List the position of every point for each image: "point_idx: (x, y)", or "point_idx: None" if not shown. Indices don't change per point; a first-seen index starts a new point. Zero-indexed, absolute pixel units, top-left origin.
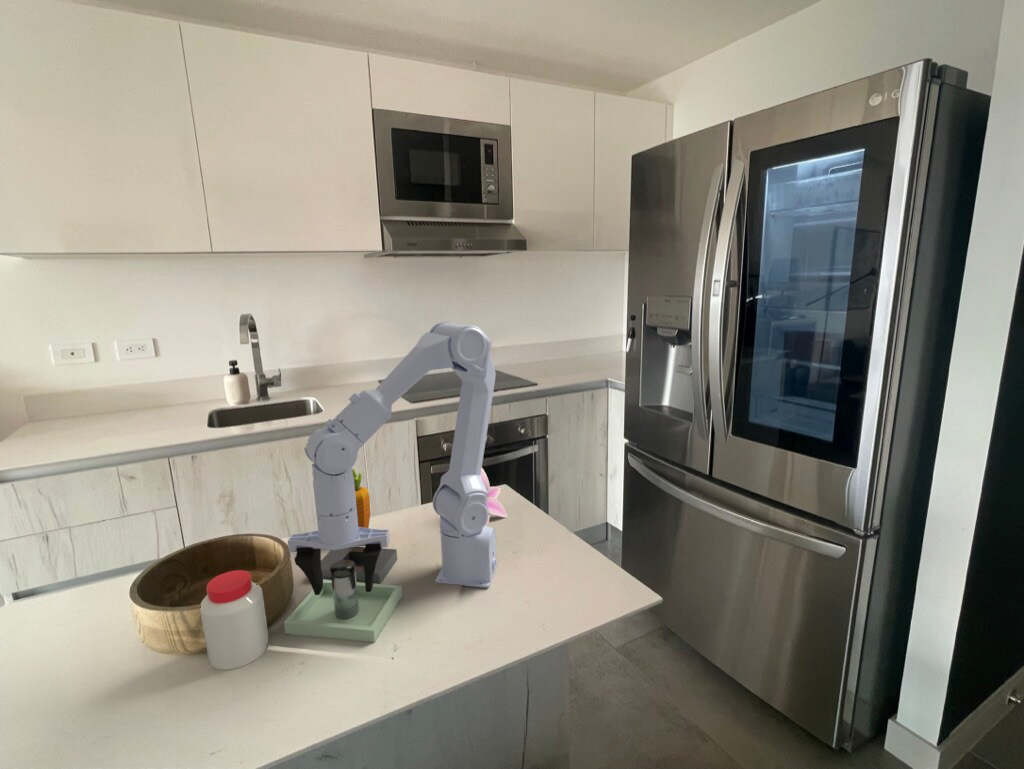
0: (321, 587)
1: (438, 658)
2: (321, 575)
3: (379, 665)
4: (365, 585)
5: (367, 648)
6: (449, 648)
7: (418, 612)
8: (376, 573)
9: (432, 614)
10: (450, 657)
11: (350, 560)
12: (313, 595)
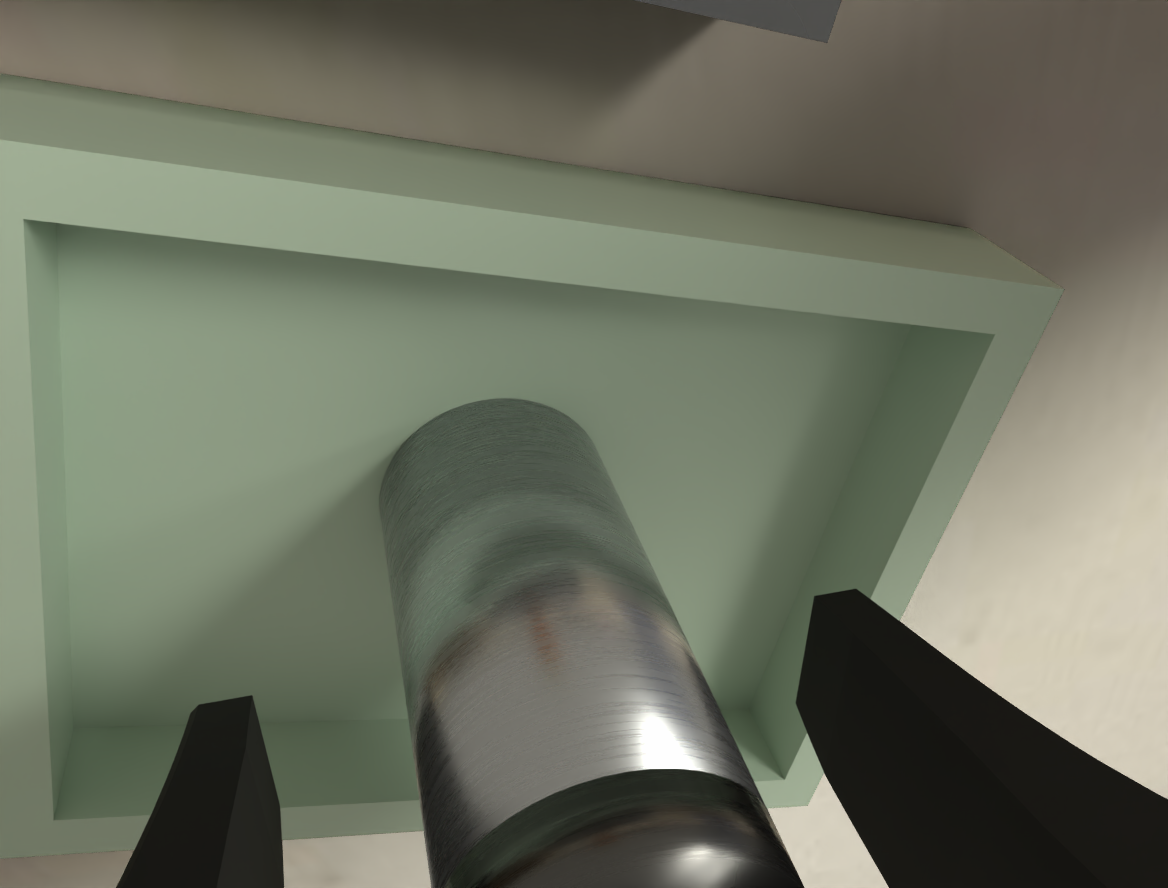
0: (265, 772)
1: (1088, 735)
2: (239, 840)
3: (794, 815)
4: (841, 799)
5: None
6: (1159, 673)
7: (1066, 401)
8: (792, 28)
9: (1155, 418)
10: (1144, 721)
11: (737, 872)
12: (37, 473)
